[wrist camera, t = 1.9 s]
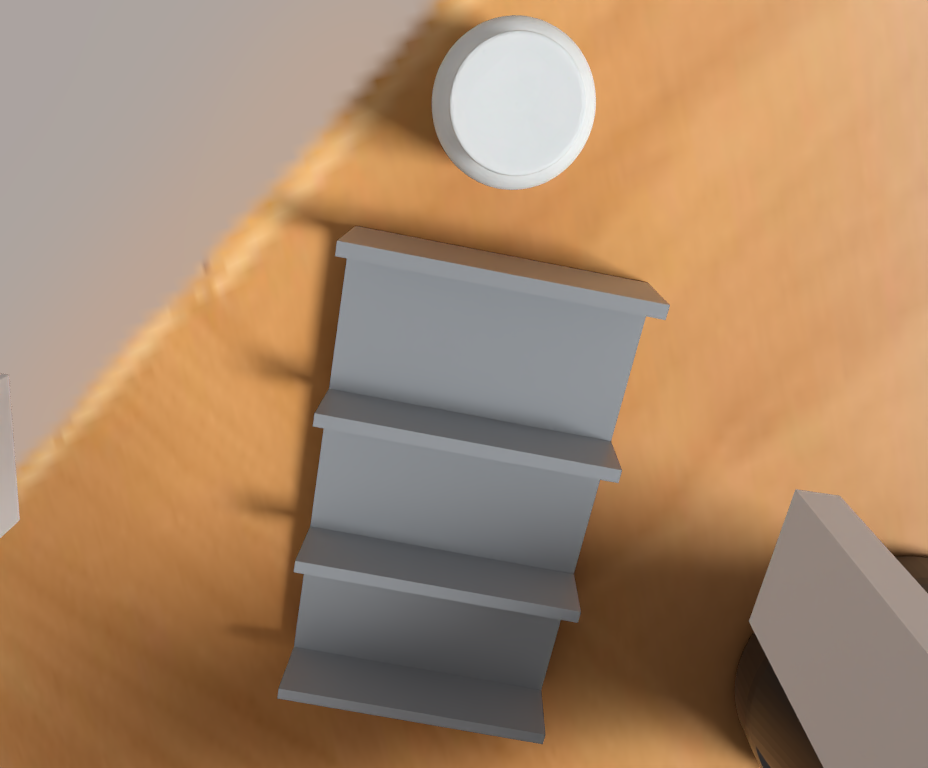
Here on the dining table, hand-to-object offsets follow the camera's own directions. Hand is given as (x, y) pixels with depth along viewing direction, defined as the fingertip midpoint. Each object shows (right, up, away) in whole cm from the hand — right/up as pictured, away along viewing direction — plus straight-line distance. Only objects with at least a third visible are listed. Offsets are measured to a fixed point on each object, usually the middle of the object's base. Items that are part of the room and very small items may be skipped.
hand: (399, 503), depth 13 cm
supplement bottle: (+3, +13, +18) cm, 23 cm away
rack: (+1, -3, +24) cm, 24 cm away
